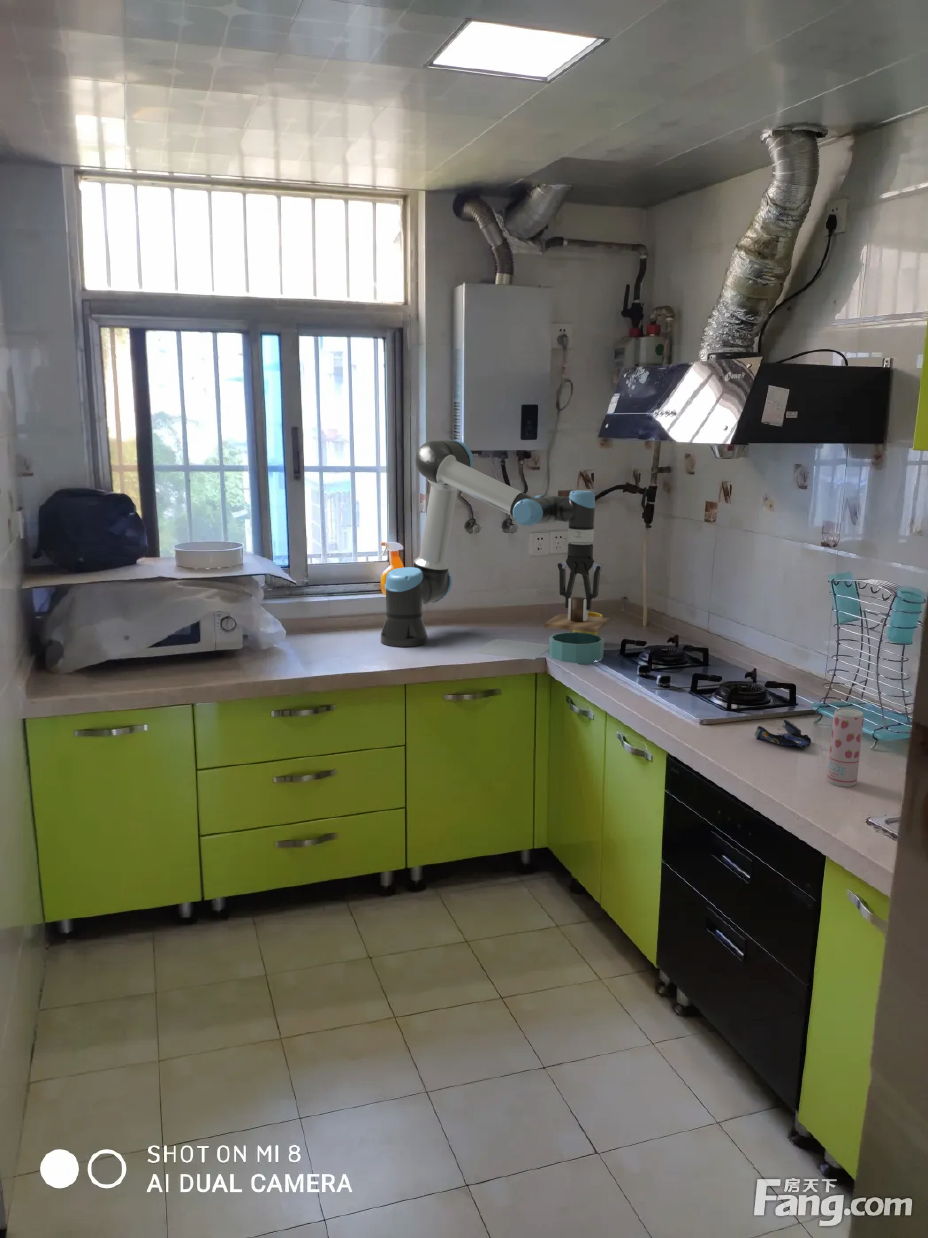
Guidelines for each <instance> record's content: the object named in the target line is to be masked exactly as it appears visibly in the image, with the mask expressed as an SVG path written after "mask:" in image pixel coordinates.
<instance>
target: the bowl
mask: <svg viewBox="0 0 928 1238" xmlns="http://www.w3.org/2000/svg"><path fill="white" fill-rule="evenodd" d="M548 638H549V642H548V645H549V650H548V656H549V657H550V658H551V659H553V660H557V661H559V662H565V663H574V664H575V663H577V665H591V664H594V663H593V662H594V661H595V660H599V659H600V658H602V657H603V658H604V652H605V651H604V647H605V645H604V644H605V639H604V638H603V637H602V636H601V635H599V634H598V635H594V634H590V633H580V632H573V631H570V632H569V631H568V632H566V631H565V632H558V633H554V634H552V635H550V636H549V637H548Z"/></svg>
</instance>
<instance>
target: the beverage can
mask: <svg viewBox="0 0 928 1238" xmlns="http://www.w3.org/2000/svg"><path fill="white" fill-rule="evenodd" d="M863 727H864V713H863V711H861V710H859V709H855V708H849V707H839V708H836V709H835V710H834V713H833V717H832V727H831V736H830V737H831V738H830V747H829V757H828V765H827V771H826V772H827V773H826V774H827V775H826V780H827V781H828V783H830V784H831V785H834V786H838V787H844V788H850V787H853V786H855V785H856V784H857V783H858V775H859V773H858V772H859V765H860V756H861V747H862V737H863Z"/></svg>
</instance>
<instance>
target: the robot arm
mask: <svg viewBox="0 0 928 1238" xmlns="http://www.w3.org/2000/svg"><path fill="white" fill-rule="evenodd" d="M473 465H474V455H473V453H472V450H471V449H470V448H469V446H468V445H467V444H465V443H464V442H462V441H460V440H455V439H445V440H444V439H443V440H429V441H427V442H425V443H423V444H422V445H420V446H419V448H418V449H417V452H416V454H415V466H416V469H417V471H418V472H419V474H421V476H423V477H424V478H426V479H427V482H428V483H429V484H430V491H429V496H428V503H427V507H426V508H427V509H426V514H425V520H424V521H425V522H424V527H423V533H422V540H421V546H420V551H419V556H418V557H417V558H415V559H414V561H413V565H412V566H410V567H409V566H404V567H398V568H394V569H392V570H390V571H388V573H387V574H386V577H385V584H384V585H385V620H384V623H383V625H382V626H383V627H382V629H381V633H380V643H382V645H385V646H391V647H398V648H399V647H403V648H407V647H417V646H422V645H425V644H427V643H428V633H427V629H426V626H425V623H424V620H423V606H425V605H428V604H432V603H433V604H435V603H437V602H439V601H441V600H443V599H444V598H446V597H447V596H448V595H449V594H450V591H451V590H452V585H453V579H452V575H450V571H449V567H450V566H449V564H448V563H447V561H446V557H447V551H448V547H449V540H450V535H451V534H450V533H451V529H452V522H453V518H454V517H453V516H454V511H455V506H456V499H457V495H458V490H459V491H460V492H462V493H464V494H466V495H468V496H469V497H470V496H471V497H473V498H475V499H476V500H478V501H480V502H482V503H485V504H487V505H489V506H491V507H493V508H495V509H497V510H499V511H501V512H503V513H505V514H507V515H509V516H511V517H513V518H514V521H516V523H518V524H519V525H521V526H529V527H531V526H535V525H539V524H542V523H543V524H544V523H549V522H562V523H563V522H564V523H568V531H567V532H568V533H567V534H568V535H567V537H568V538H567V539H568V540H567V541H568V542H569V543H568V544H567V557H566V560H564V561H561V562H558V563H557V569H558V572H559V576H558V577H559V595H560V596H563V597H565V598H564V599H565V603H564V604H565V605H564V606H565V608H566V609H567V614H568V620H571V610H572V597H573V596H572V595H573V590H574V584H575V581H576V577H577V574H579V575H581V577H582V580H583V586H584V587H583V588H584V592H585V599H584V605H583V621H586V620H588V612H589V611H590V610H591V609H592V603H593V599H596V598H597V597H598V596H599V590H600V589H599V587H600V575H601V574H600V573H601V571H602V569H603V565H602V564H598V563H596V562H595V560H594V544H593V542H594V541H595V540H594V538H595V537H594V535H595V534H594V532H595V516H596V515H595V511H596V510H595V509H596V501H595V500H596V497H595V492H594V491H592V490H586V489H585V490H582V489H581V490H579V489H578V490H577V489H575V490H571V491H570V492H569V496H558V495H547V494H543V495H542V494H541V495H535V496H534V497H533V496H531V495H529V494H527V493H525V492H523V491H521V490H518V489H516V488H514V487H512V486H510V485H508V484H506V483H504V482H501V481H499V480H498V479H496V478H493V477H491V476H489V475H488V474H484V473H483V472H480V471H479V470H477V469H474V468H473ZM567 567H568V568H569V570H570V573H569V579H568V583H567V585H566V581H567V580H566V569H567ZM592 568H593V569H592ZM591 569H592V570H593V571H594V572H593V582H592V588H591V581H590V580H591V579H590V572H589V571H590V570H591ZM566 586H567V587H566Z"/></svg>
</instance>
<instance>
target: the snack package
mask: <svg viewBox="0 0 928 1238" xmlns="http://www.w3.org/2000/svg"><path fill="white" fill-rule="evenodd" d="M775 723H776V721H775ZM781 727H782V728H783V729H784V731H786V732H785V733H779V732H777V733H776V734H774V733H771V732H770V731H768V730H767V729H766V728H765V727H763V726H761V725H758V726H757V727H756V731H755V732H754V737H755V739H758V740H759V739H761V740H763V741H764V740H765V741H768V742H770V743H773V744H776V745H780V746H788V747H789V746H796V747H799V748H800V749H802V750H804V749H805V748H807V747H809V746H810V744H811V743H812V739H811V737H810V736H809V735H808V734H802V730H801V729H800V728H799V727H798V726H796V725H795V724H794V723H791V722H790V721H789V720H787V719H785V718H783V719H781ZM780 730H781V729H780V728H778V731H780Z"/></svg>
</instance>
